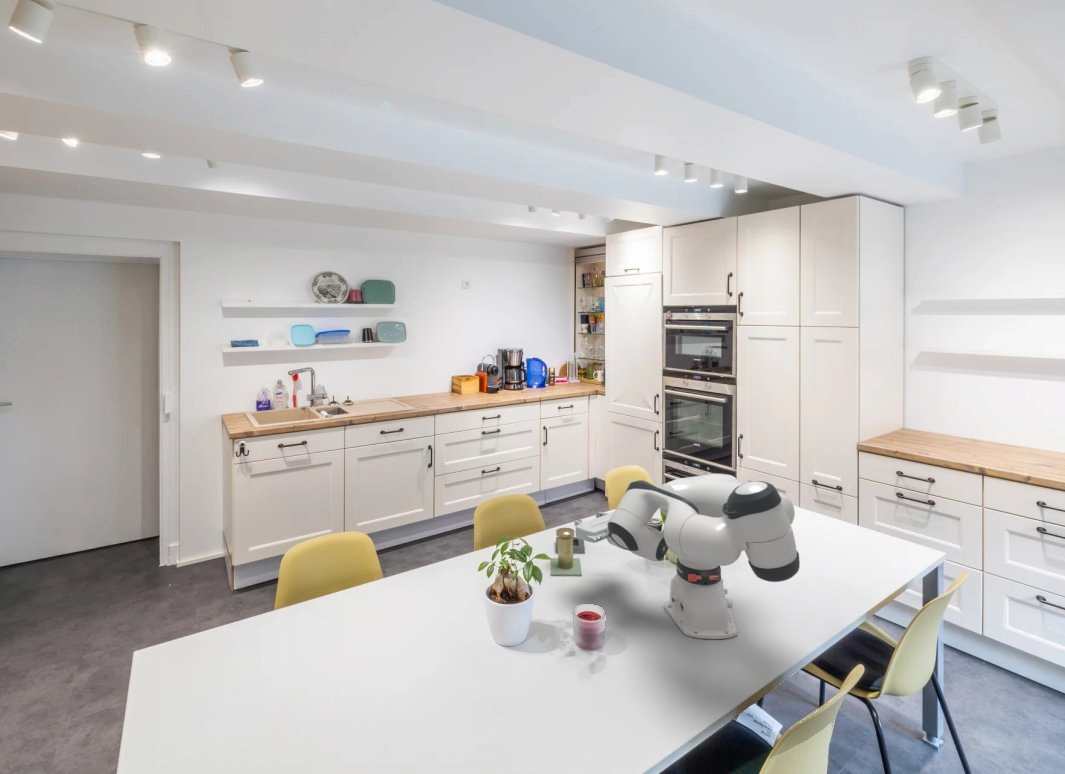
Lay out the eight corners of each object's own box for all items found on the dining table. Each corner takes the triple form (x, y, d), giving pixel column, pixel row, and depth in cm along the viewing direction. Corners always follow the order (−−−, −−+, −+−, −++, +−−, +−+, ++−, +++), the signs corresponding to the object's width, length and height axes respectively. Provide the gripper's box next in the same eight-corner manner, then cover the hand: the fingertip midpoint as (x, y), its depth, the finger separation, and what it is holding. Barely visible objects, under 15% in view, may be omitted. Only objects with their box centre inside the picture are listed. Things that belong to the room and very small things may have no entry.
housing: (584, 555, 192) (584, 548, 192) (556, 554, 193) (556, 548, 192) (583, 543, 202) (583, 537, 202) (556, 543, 203) (556, 536, 202)
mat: (581, 576, 176) (581, 574, 176) (550, 576, 177) (550, 574, 177) (579, 559, 188) (579, 558, 188) (550, 559, 189) (550, 558, 189)
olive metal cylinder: (574, 570, 179) (574, 534, 178) (556, 570, 180) (556, 534, 178) (574, 562, 185) (573, 527, 184) (556, 562, 186) (556, 527, 184)
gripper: (595, 552, 155) (562, 537, 165) (642, 532, 168) (608, 519, 178) (595, 530, 154) (562, 517, 165) (642, 512, 167) (608, 501, 177)
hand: (586, 518), depth 171 cm, fingers open, 8 cm apart
